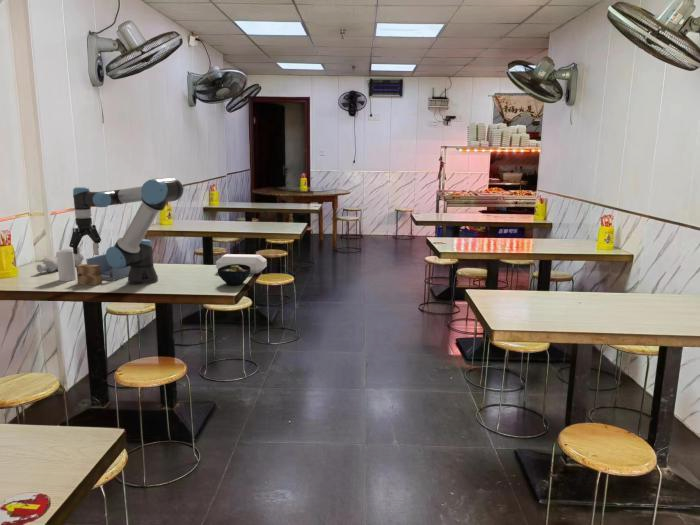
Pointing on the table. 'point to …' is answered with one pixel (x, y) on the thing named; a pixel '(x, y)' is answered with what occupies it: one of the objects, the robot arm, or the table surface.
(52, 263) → the bottle
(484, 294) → the table surface
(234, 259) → the crystal
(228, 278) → the bowl
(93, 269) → the tan wooden block
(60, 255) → the cup
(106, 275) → the cabinet
